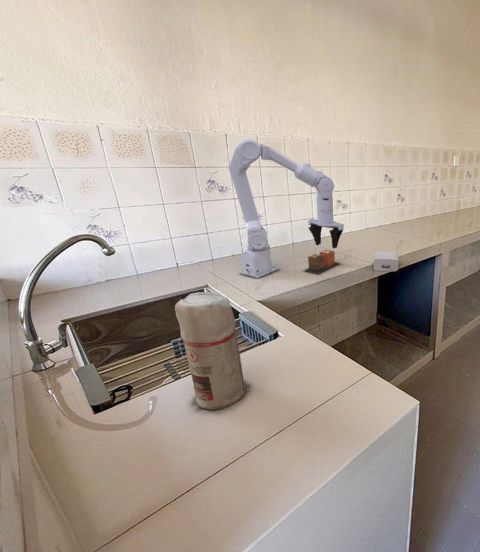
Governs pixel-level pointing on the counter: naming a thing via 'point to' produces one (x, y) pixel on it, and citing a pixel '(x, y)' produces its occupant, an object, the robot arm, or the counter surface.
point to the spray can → (211, 349)
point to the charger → (386, 261)
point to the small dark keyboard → (323, 269)
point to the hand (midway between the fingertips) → (326, 246)
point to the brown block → (316, 262)
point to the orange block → (328, 257)
